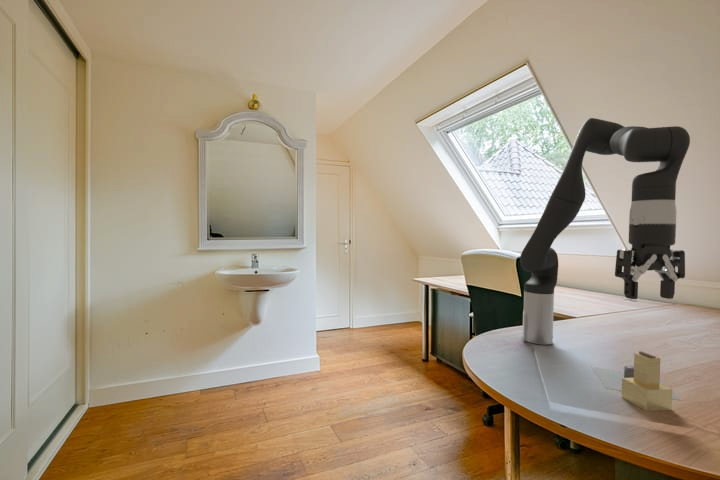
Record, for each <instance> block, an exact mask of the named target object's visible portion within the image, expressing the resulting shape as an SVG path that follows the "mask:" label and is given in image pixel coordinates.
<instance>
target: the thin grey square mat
mask: <svg viewBox="0 0 720 480" xmlns="http://www.w3.org/2000/svg"><path fill="white" fill-rule="evenodd" d="M591 369H592V370H593V372H594V373H595V375H596V376H597V377H598V379H599V381H600V382H601V384H602V385H603V387H604V388H605V389H607V390H608V389H609V390H615V391H620V392H622V378H634V365H628V364H627V365H626V364H625V365H624V366H623V370H620V369H619V370H618V369H610V368H605V367H604V368H603V367H596V366H591ZM660 384H662V385H664V386H666V387H668V385H666V384H665V383H664V382H663V381H662V380H661V379H660ZM672 400H677V401H682V402H683V400H682V399H681V398H680V397H679V396H678V395H677V394H676V393H675V392H674V391H673V390H672Z"/></svg>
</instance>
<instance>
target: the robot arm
mask: <svg viewBox="0 0 720 480" xmlns="http://www.w3.org/2000/svg"><path fill="white" fill-rule="evenodd" d="M576 135H577V136H576V138H575V140H574V143H573V145H572V148H571V151H570V154H569V156H568V159H567V162H566V164H565V165H564V168H563V171H562V172H561V174H560V177H559V179H558V181H557V183H556V185H555V187H554V189H553V191H552V193H551V194H550V197H549V199H548V201H547V203H546V206H545V209H544V211H543V213H542V215H541V217H540V219H539V221H538V223H537V225H536V227H535V229H534V230H533V233H532V234H531V236H530V238H529V240H528V241H527V243H526V244H525V246H524V248H523V249H522V251H521V254H520V257H519V263H520V266H521V269H522V270H523V271H525V272H527V273H531V276H530V278H529V279H528V280H527V281H526V282H525V283H524V286H523V310H522V340H523V342H527V343H531V344H535V345H544V346H545V345H551V344H553V343H554V341H553V339H554V310H555V309H554V304H555V303H554V302H555V301H554V300H555V288H556V286H557V283H558V274H559V257H558V253H557V252H556V250H555V249H554V248H552V245H553V243H554V241H555V239H556V238H557V237H559V235H560V234H561V233H563V231H564V230H565V229H566V228H567V227H568V226H569V225H570V224H572V222H573V221H574V220H575V218H576V217H577V216H578V214H579V212H580V210H581V208H582V206H583V204H584V202H585V200H586V187H585V182H584V177H583V161H584V158H585V154H586V152H587V153H593V154H597V155H599V156H600V155H601V156H610V155H611V156H612V155H619V156H623V158H624V160H625V161H627V162H630V163H653V162H654V163H655V162H656V163H657V162H659V166H658V167H657V169H656V170H654V171H648V172H644V173H641V174H637V175H635V176H634V177H633V178H632V183H631V202H630V203H631V204H630V208H629V214H628V215H629V218H628V219H629V220H628V221H629V222H628V244H629V245H631V248H630V249H623V248H622V249H621V248H620V249H617V250H616V257H615V258H616V259H615V266H614V267H615V268H614V277H616V278H620V279H622V280H623V281H624V282H623V283H624V285H623V288H624V289H623V295H624V297H625V298H626V299H629V300H637V299H638V298H639V297H638V296H639V295H638V294H639V282H638V280H639V279H640V277H641V276H642V275H644V274H646V273H647V271H654V272H655V273H657V274H658V275H659V278H660V279H661V280H660V285H659V286H660V289H659V290H660V293H659V296H660V298H663V299H668V300H672V299H674V295H675V293H676V291H675V289H676V282H677V281H678V280H679V279H685V277H686V253H685V251H684V250H678V249H671V246H675V244H676V235H677V232H676V231H677V205H676V194H677V192H676V189H677V179H678V176H679V173H680V170H681V168H682V165H683V162H684V160H685V157H686V155H687V153H688V150H689V147H690V145H691V143H690V142H691V137H690V134H689V132H688V130H687V129H686V128H684V127H683V126H682V127H681V126H676V125H675V126H662V127H646V126H637V125H635V126H633V125H631V126H624V125H622V124H621V123H617V122H613V121H609V120H604V119H599V118H594V117H590V118H587V119H586V120H585V121H584V123H583V124H582V125H581V127H580V129H579V130H578V133H577V134H576ZM676 268H677V271H676Z"/></svg>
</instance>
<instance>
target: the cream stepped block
mask: <svg viewBox="0 0 720 480" xmlns="http://www.w3.org/2000/svg"><path fill="white" fill-rule="evenodd" d="M633 355H634V356H633V359H634V360H633V366H634V378H622V391H621V395H620V396H621V398H622V399H623V400H626V401H627V402H630V403H631V404H633V405H635V406H637V407H638V408H640V409H642V410H644V411H646V412H653V411H655V412H656V411H672V407H673V406H672V404H673V403H672V402H673V399H672V391H673V389H672V388H671V387H669V386H667V385H666V386H667V387H666V386H664V385H662V384H660V380H661V379H660V377H661V357H658V356H657V355H656V356H655V355H654V354H650V353H648V352H645V351H642V350H641V351H638V352H637V353H636V352H635V353H633Z"/></svg>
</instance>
